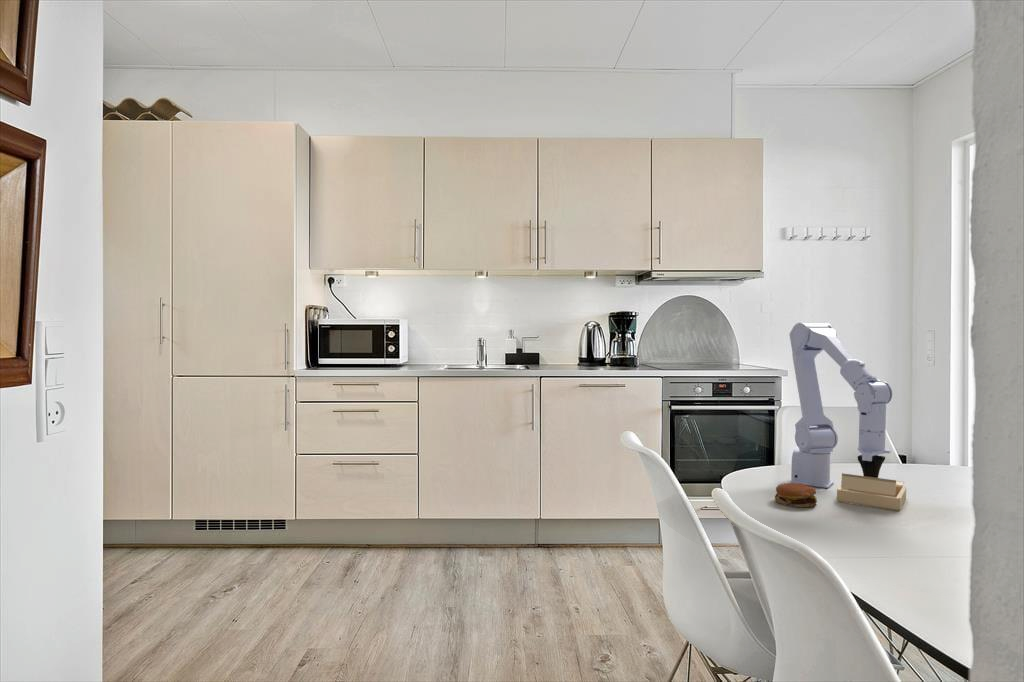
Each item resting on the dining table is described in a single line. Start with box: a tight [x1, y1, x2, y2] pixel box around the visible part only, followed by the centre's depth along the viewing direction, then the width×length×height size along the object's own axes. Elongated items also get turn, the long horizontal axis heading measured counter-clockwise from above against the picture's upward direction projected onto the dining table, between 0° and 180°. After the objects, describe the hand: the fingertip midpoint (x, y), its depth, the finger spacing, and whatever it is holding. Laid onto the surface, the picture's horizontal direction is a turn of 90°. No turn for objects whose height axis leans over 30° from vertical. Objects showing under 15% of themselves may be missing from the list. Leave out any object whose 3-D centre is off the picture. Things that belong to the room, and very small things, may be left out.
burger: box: [774, 482, 818, 508], centre depth 161 cm, size 10×9×5 cm
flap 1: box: [840, 472, 897, 496], centre depth 159 cm, size 12×1×4 cm, turn 53°
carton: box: [836, 485, 907, 512], centre depth 164 cm, size 14×14×3 cm
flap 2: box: [896, 480, 905, 486], centre depth 171 cm, size 12×1×4 cm
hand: (870, 485), depth 163 cm, fingers closed
